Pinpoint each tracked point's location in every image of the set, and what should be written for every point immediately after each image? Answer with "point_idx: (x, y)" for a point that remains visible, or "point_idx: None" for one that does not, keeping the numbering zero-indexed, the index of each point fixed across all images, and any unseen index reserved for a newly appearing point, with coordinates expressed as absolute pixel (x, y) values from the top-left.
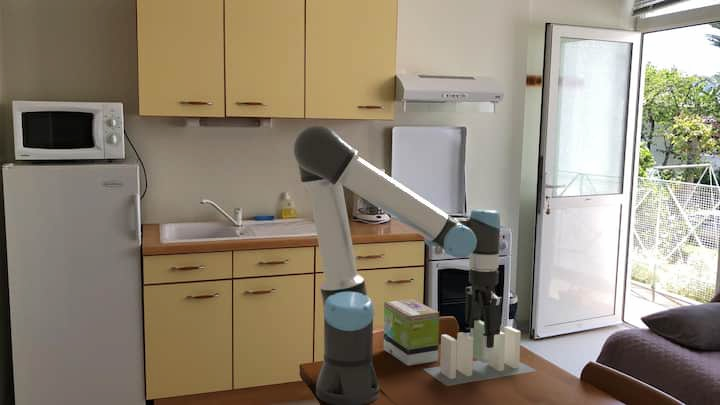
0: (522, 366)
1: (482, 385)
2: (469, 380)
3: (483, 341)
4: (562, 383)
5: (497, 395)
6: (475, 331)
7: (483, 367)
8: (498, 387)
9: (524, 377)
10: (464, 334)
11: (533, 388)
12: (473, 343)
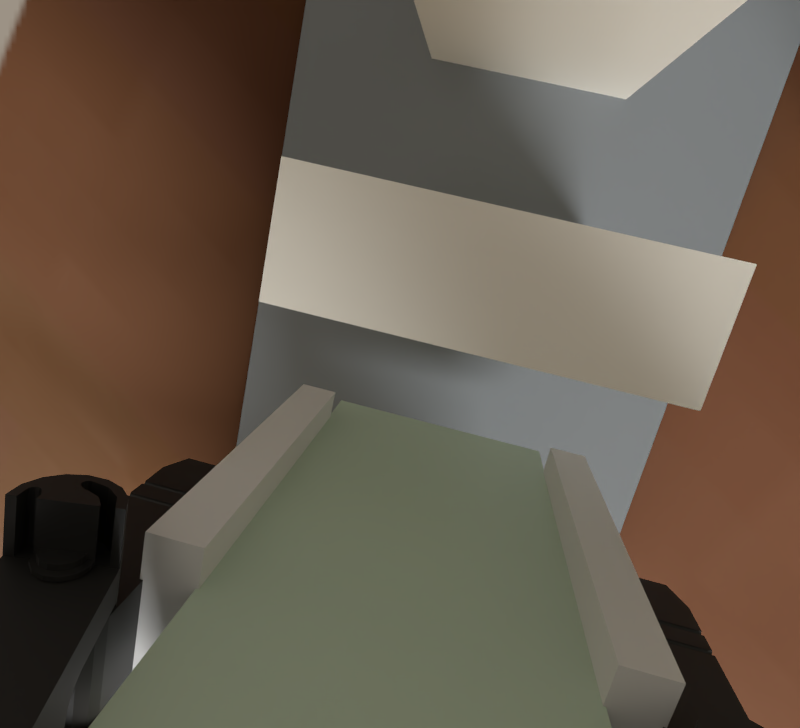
0: None
1: (227, 199)
2: (316, 137)
3: (237, 476)
4: None
5: (28, 148)
6: (539, 656)
7: None
8: (138, 280)
9: None
10: (550, 314)
11: (20, 473)
12: (557, 524)
